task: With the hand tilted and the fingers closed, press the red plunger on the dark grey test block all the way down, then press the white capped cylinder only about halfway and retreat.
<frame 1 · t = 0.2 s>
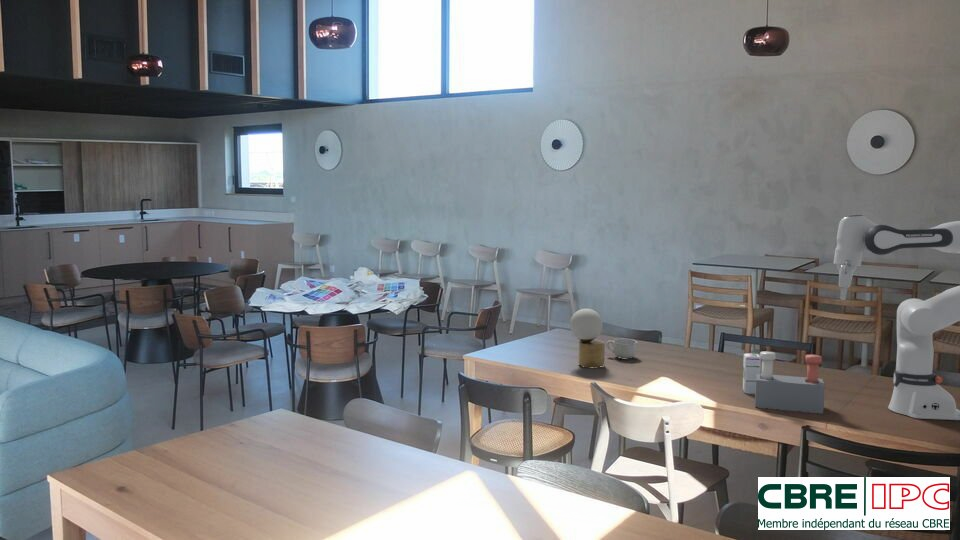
hand: (842, 299, 269), 39 cm above the table, tool pointing down, fingers open, 8 cm apart
test block: (788, 406, 271), on the table
red plug: (812, 375, 267), point 12 cm above the table, slide at 0.0 cm
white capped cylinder: (767, 372, 272), point 12 cm above the table, slide at 0.0 cm
syrup box: (750, 392, 290), on the table
lamp: (586, 365, 333), on the table
teacup: (621, 357, 348), on the table
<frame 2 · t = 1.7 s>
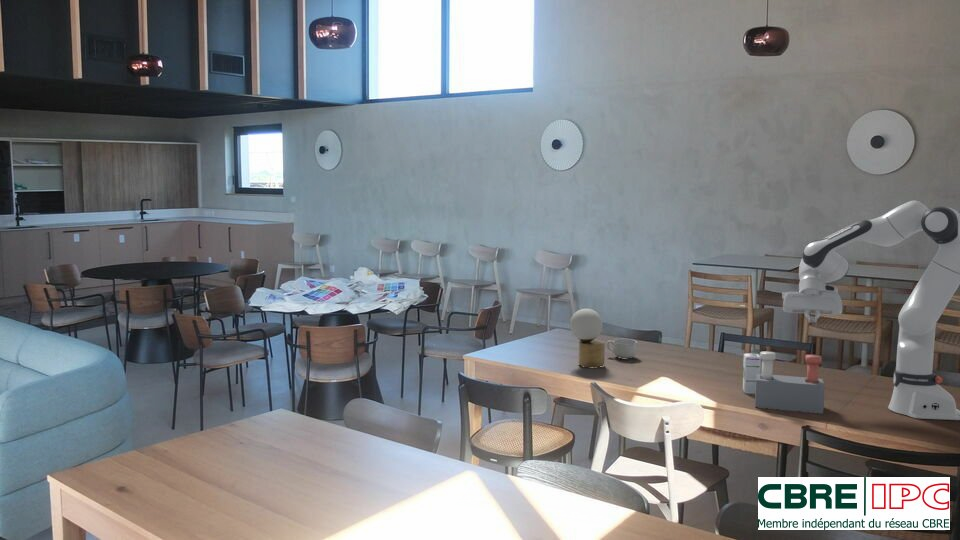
hand: (812, 321, 277), 29 cm above the table, tool tilted 45°, fingers closed
nothing on the table moved.
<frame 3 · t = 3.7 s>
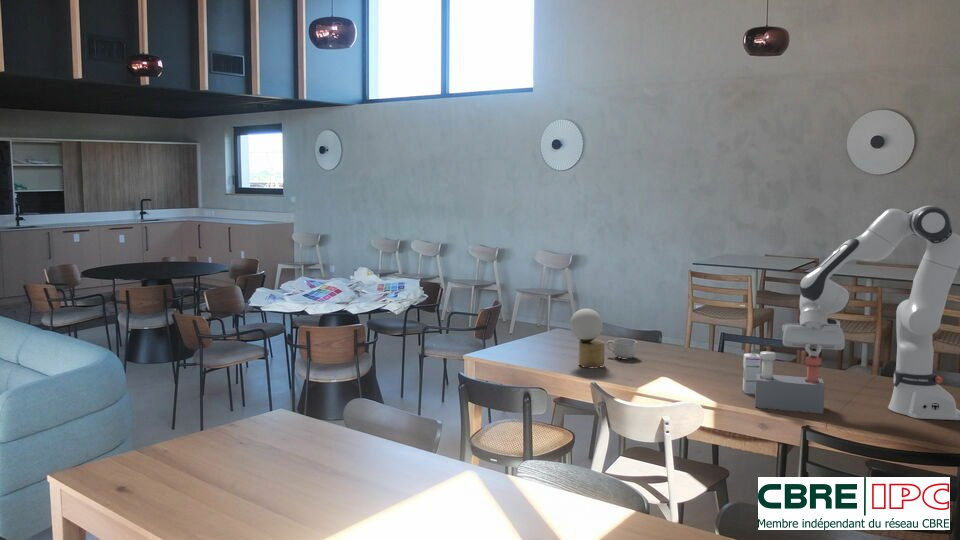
hand: (813, 356, 266), 19 cm above the table, tool tilted 45°, fingers closed, pressing on red plug
red plug: (812, 377, 267), point 11 cm above the table, slide at 0.8 cm, touching gripper
everything else where it was.
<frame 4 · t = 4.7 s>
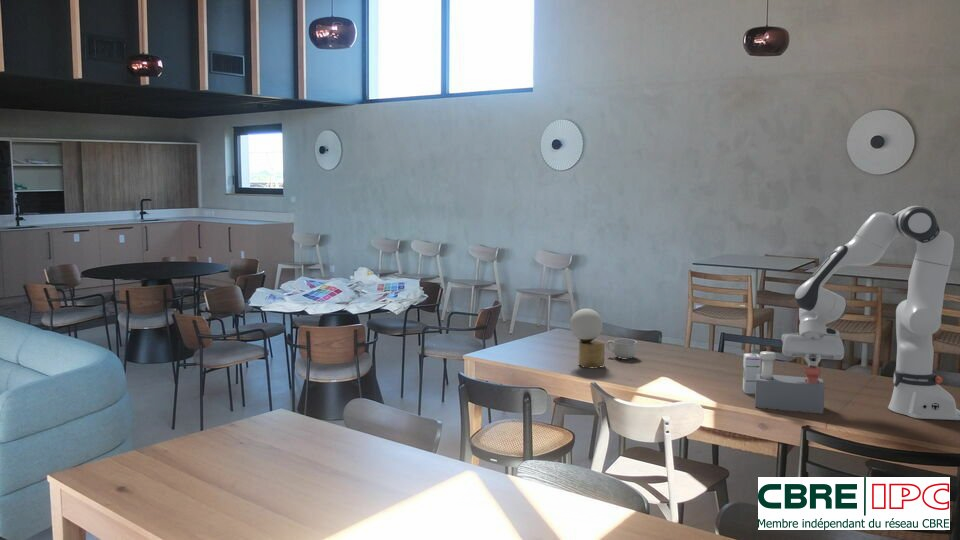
hand: (812, 366, 266), 15 cm above the table, tool tilted 45°, fingers closed, pressing on red plug
red plug: (811, 387, 268), point 8 cm above the table, slide at 4.3 cm, touching gripper
everything else where it was.
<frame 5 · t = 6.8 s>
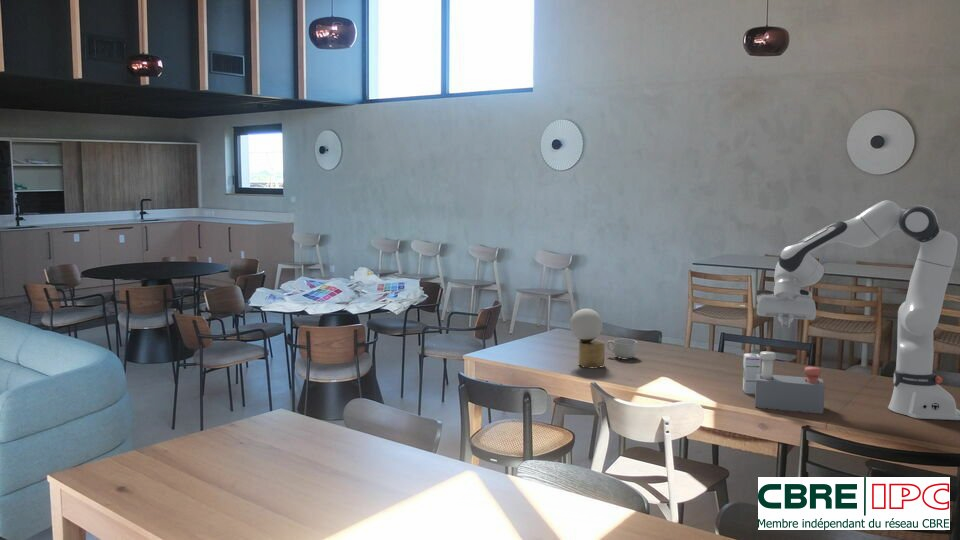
hand: (785, 326, 274), 28 cm above the table, tool tilted 45°, fingers closed
red plug: (811, 387, 268), point 8 cm above the table, slide at 4.4 cm
everything else where it was.
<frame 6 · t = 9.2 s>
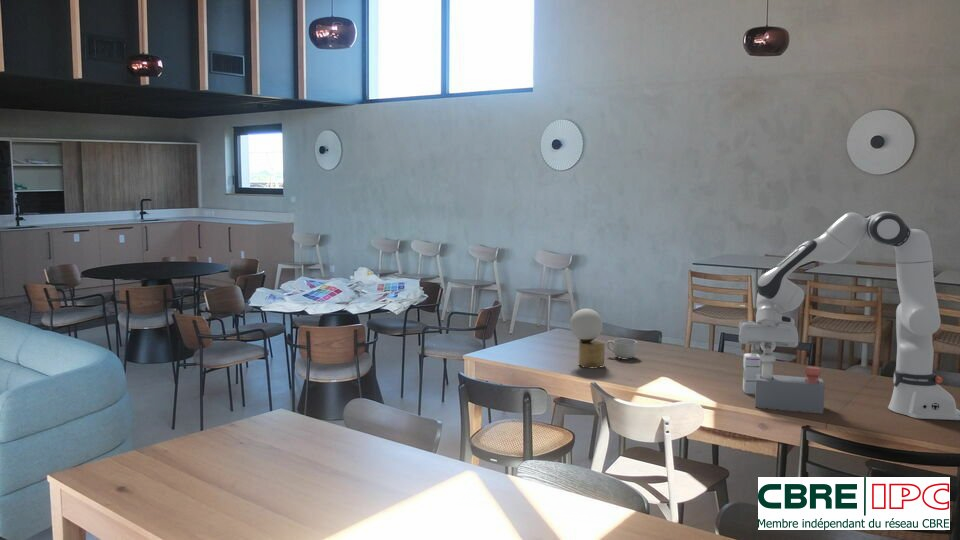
hand: (767, 354, 271), 19 cm above the table, tool tilted 45°, fingers closed, pressing on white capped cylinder
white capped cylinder: (766, 374, 272), point 11 cm above the table, slide at 0.9 cm, touching gripper
everything else where it was.
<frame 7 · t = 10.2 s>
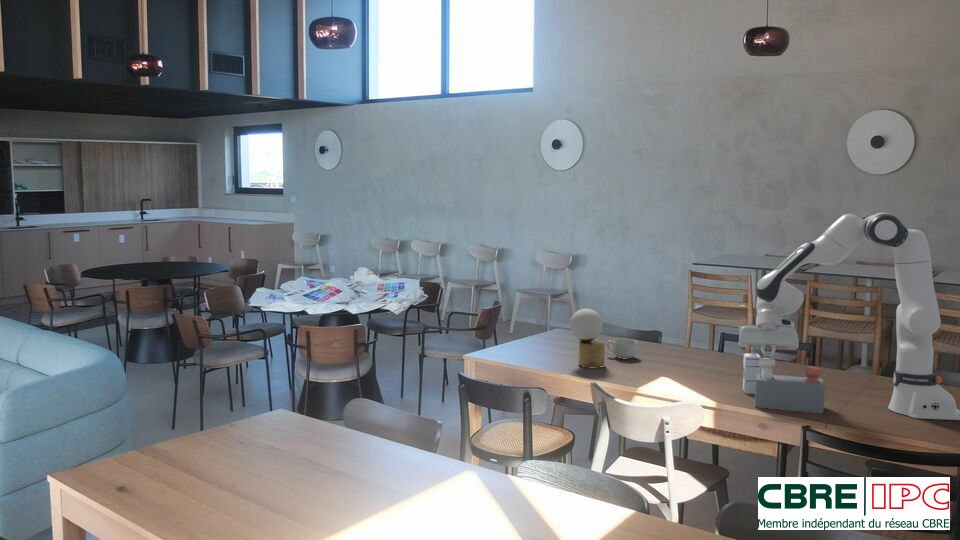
hand: (767, 357, 271), 18 cm above the table, tool tilted 45°, fingers closed
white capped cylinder: (766, 378, 272), point 10 cm above the table, slide at 2.4 cm
everything else where it was.
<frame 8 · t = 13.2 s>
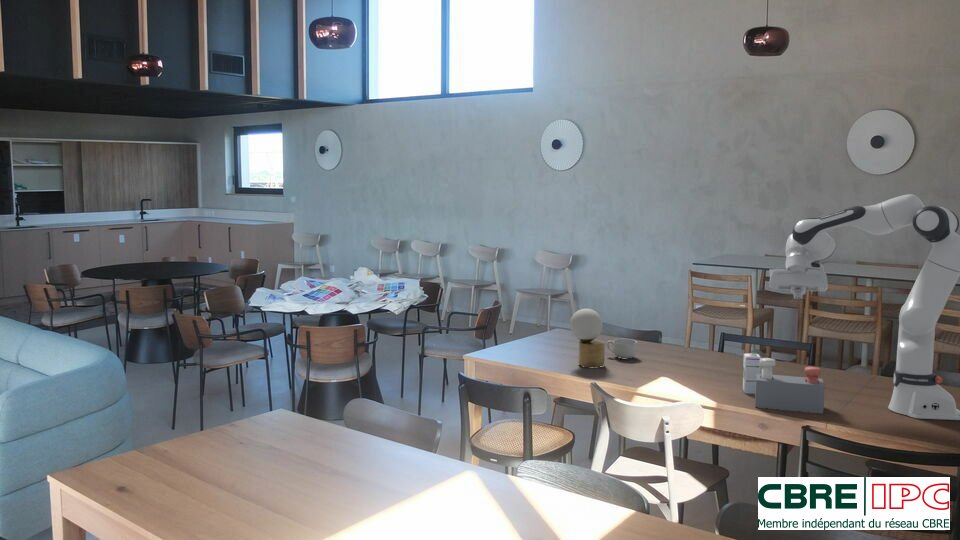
hand: (798, 298, 279), 37 cm above the table, tool tilted 45°, fingers closed
nothing on the table moved.
at the end: red plug slide at 4.4 cm; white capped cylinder slide at 2.4 cm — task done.
